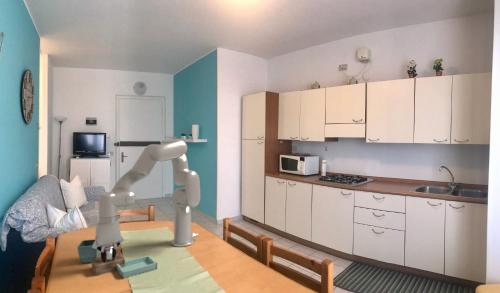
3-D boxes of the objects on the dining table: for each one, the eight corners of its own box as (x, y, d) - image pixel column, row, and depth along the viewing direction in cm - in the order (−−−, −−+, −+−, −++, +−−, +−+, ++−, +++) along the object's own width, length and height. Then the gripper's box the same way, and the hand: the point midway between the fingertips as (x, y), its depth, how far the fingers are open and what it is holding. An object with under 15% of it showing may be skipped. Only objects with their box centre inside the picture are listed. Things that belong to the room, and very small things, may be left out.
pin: (113, 263, 137) (112, 243, 136) (115, 267, 133) (115, 246, 133) (102, 266, 134) (101, 246, 133) (104, 270, 130) (104, 249, 130)
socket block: (119, 261, 141) (119, 253, 140) (124, 268, 134) (124, 259, 133) (91, 268, 133) (91, 259, 133) (96, 275, 126) (95, 266, 126)
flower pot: (77, 265, 136) (76, 246, 135) (82, 257, 144) (82, 240, 144) (97, 263, 138) (97, 245, 138) (102, 256, 146) (101, 238, 146)
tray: (148, 260, 142) (148, 255, 142) (157, 268, 133) (157, 263, 133) (116, 269, 132) (116, 263, 132) (123, 278, 124) (123, 272, 124)
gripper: (124, 214, 141) (125, 251, 141) (86, 220, 130) (86, 260, 131) (129, 217, 135) (129, 256, 136) (89, 224, 124) (90, 266, 125)
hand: (108, 258), depth 133 cm, fingers closed on pin, 3 cm apart
